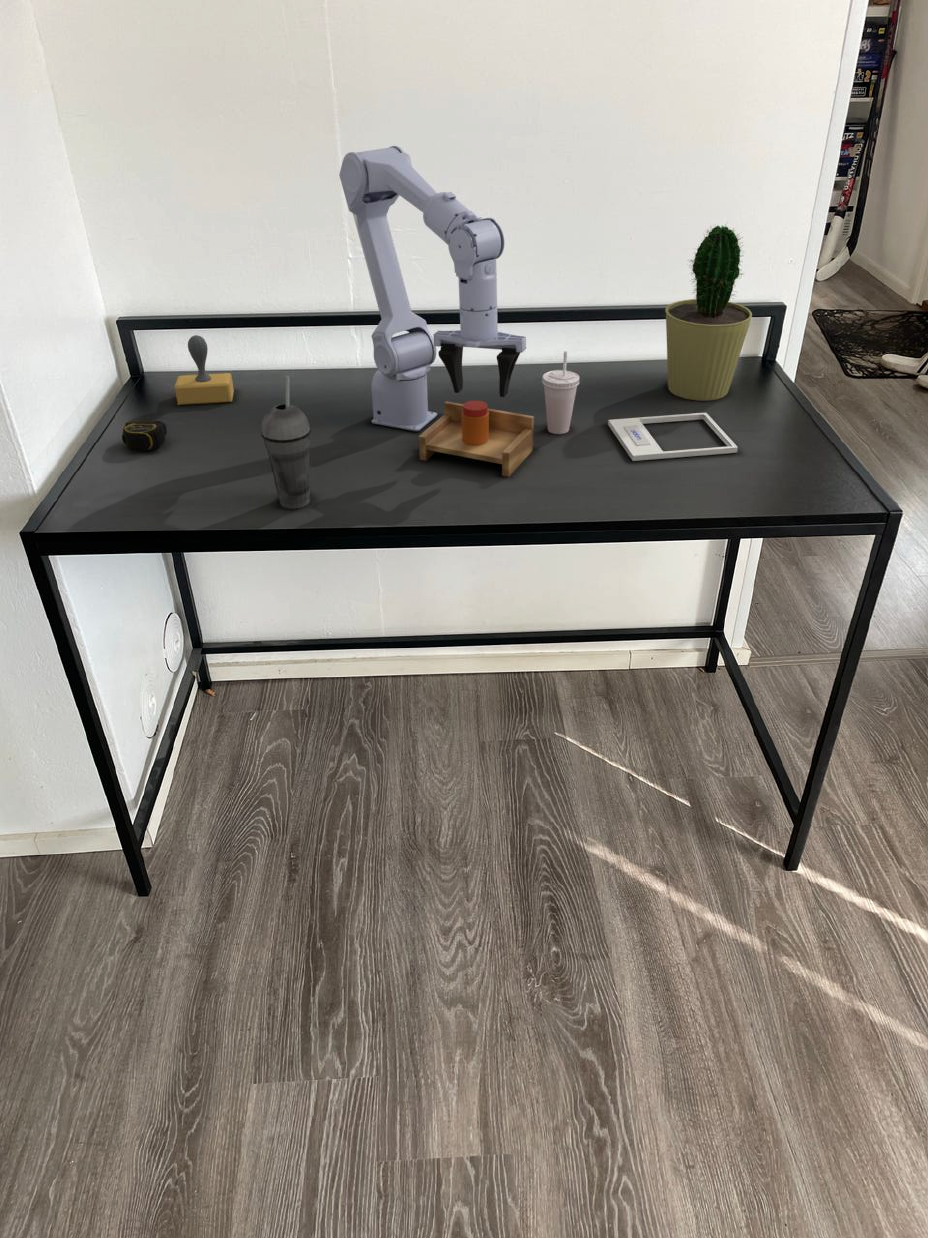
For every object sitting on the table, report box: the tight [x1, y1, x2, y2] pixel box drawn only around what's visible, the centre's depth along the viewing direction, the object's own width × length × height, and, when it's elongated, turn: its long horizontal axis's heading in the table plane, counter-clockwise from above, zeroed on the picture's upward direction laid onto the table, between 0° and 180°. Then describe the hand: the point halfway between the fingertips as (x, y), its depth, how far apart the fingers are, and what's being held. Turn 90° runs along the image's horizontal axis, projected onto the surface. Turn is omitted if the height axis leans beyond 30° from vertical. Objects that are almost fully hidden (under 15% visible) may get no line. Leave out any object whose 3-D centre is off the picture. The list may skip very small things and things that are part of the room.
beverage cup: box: [260, 375, 312, 510], centre depth 140 cm, size 7×7×20 cm
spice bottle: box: [462, 400, 489, 445], centre depth 154 cm, size 4×4×6 cm
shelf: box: [418, 400, 535, 478], centre depth 156 cm, size 16×11×6 cm, turn 65°
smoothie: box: [541, 350, 580, 435], centre depth 162 cm, size 6×6×14 cm
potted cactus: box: [664, 221, 753, 401], centre depth 172 cm, size 15×15×30 cm
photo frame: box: [607, 412, 739, 462], centre depth 162 cm, size 15×1×18 cm
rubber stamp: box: [174, 334, 235, 406], centre depth 176 cm, size 10×6×12 cm, turn 97°
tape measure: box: [121, 420, 168, 451], centre depth 161 cm, size 7×7×4 cm
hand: (481, 392), depth 151 cm, fingers open, 7 cm apart
